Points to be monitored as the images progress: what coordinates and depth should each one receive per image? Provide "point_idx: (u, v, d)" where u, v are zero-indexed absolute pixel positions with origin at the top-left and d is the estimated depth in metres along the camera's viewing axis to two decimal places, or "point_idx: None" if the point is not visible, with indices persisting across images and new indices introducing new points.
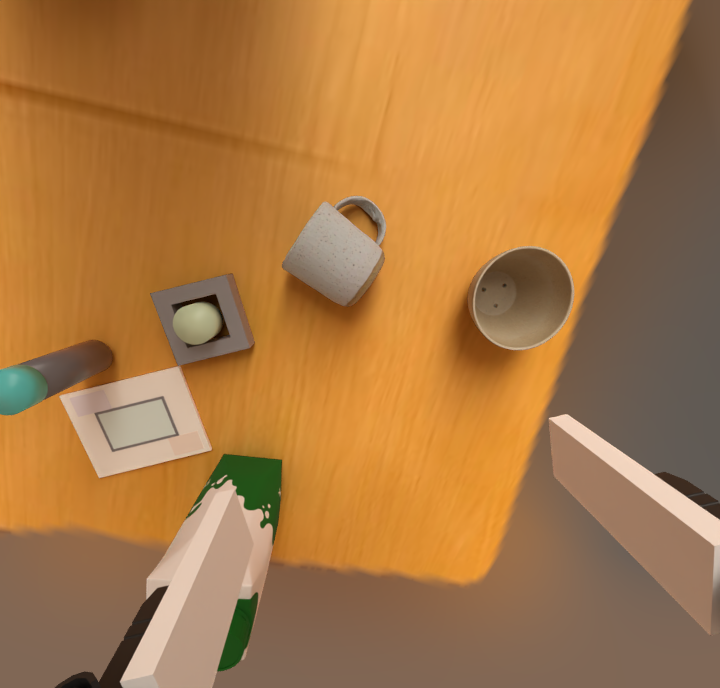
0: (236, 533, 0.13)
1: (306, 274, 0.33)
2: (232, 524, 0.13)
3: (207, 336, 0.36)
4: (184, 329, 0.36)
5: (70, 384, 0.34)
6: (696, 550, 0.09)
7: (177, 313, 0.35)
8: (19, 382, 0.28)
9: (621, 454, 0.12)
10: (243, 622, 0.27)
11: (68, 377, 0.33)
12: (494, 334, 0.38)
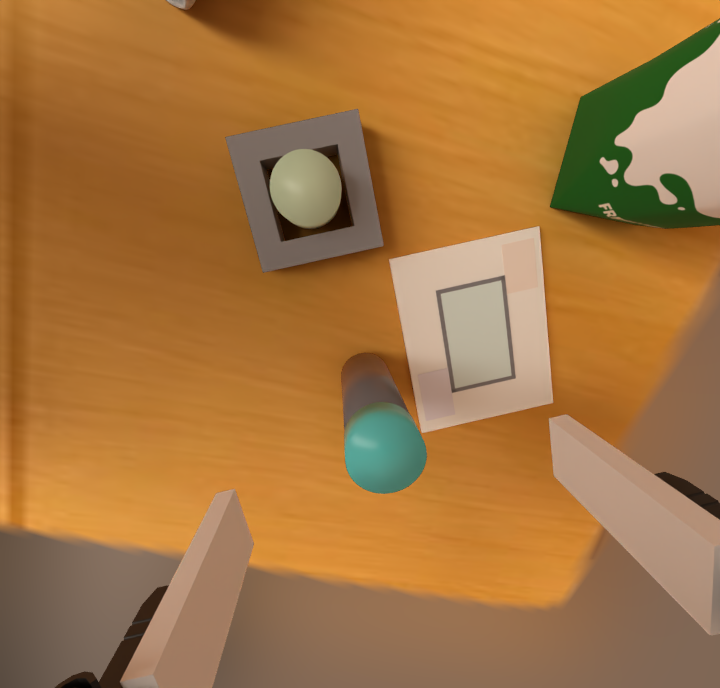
0: (236, 533, 0.14)
1: None
2: (232, 524, 0.13)
3: (326, 164, 0.20)
4: (313, 205, 0.20)
5: (393, 387, 0.21)
6: (696, 550, 0.09)
7: (285, 214, 0.20)
8: (365, 428, 0.16)
9: (621, 454, 0.12)
10: None
11: (380, 384, 0.20)
12: None
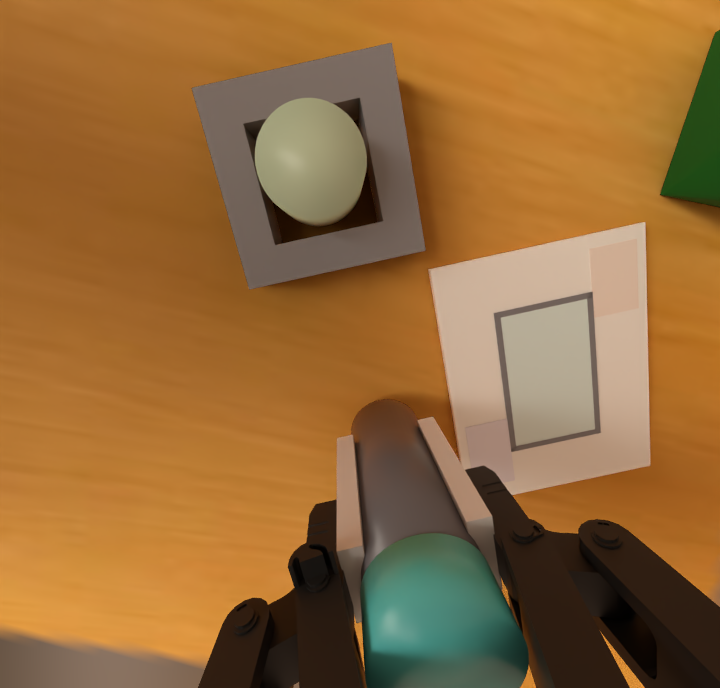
0: None
1: None
2: None
3: (343, 123, 0.13)
4: (322, 188, 0.13)
5: (440, 477, 0.13)
6: None
7: (278, 201, 0.13)
8: (408, 620, 0.08)
9: (452, 450, 0.14)
10: None
11: (418, 476, 0.12)
12: None
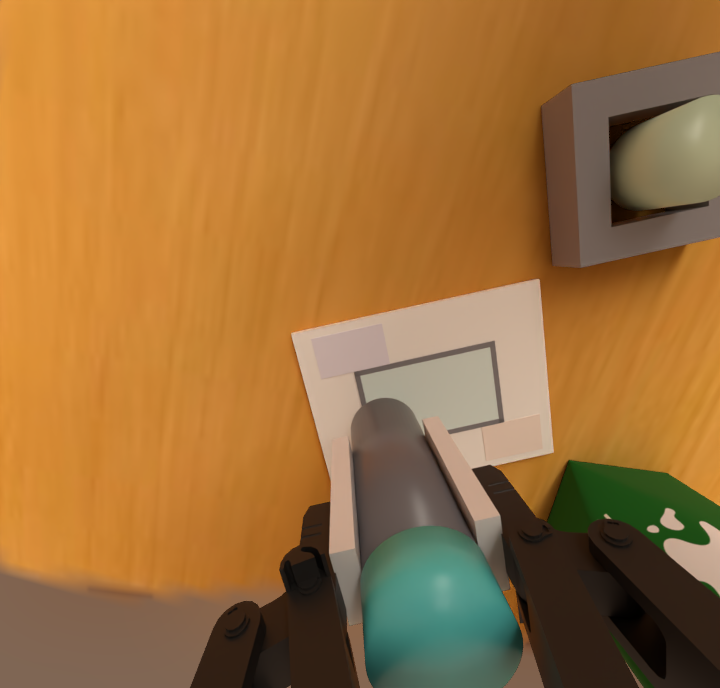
0: None
1: None
2: (352, 463, 0.16)
3: None
4: (681, 161, 0.15)
5: (437, 473, 0.13)
6: (471, 526, 0.11)
7: (680, 115, 0.14)
8: (407, 608, 0.08)
9: (458, 450, 0.14)
10: None
11: (417, 472, 0.12)
12: None
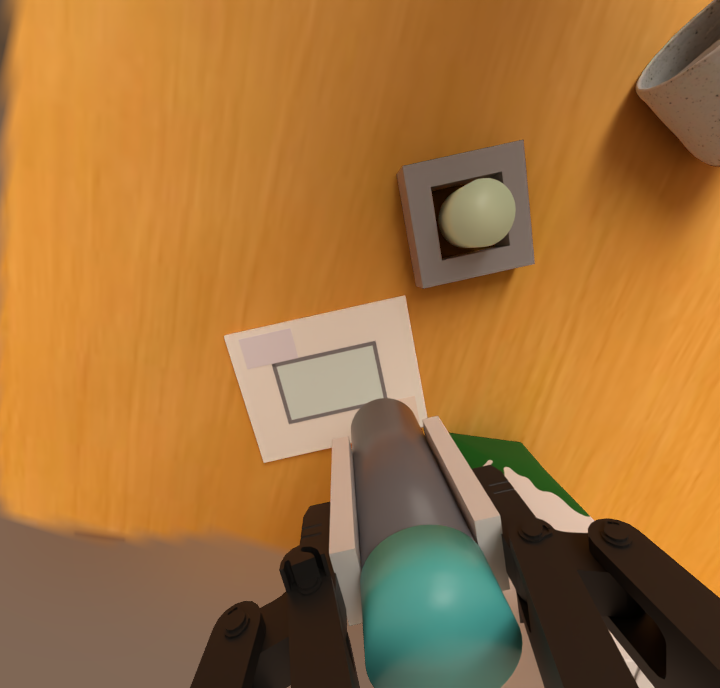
0: None
1: None
2: (352, 463, 0.16)
3: (501, 233, 0.22)
4: (468, 220, 0.22)
5: (436, 471, 0.13)
6: (471, 525, 0.11)
7: (463, 191, 0.22)
8: (404, 607, 0.08)
9: (458, 450, 0.14)
10: None
11: (415, 471, 0.12)
12: None
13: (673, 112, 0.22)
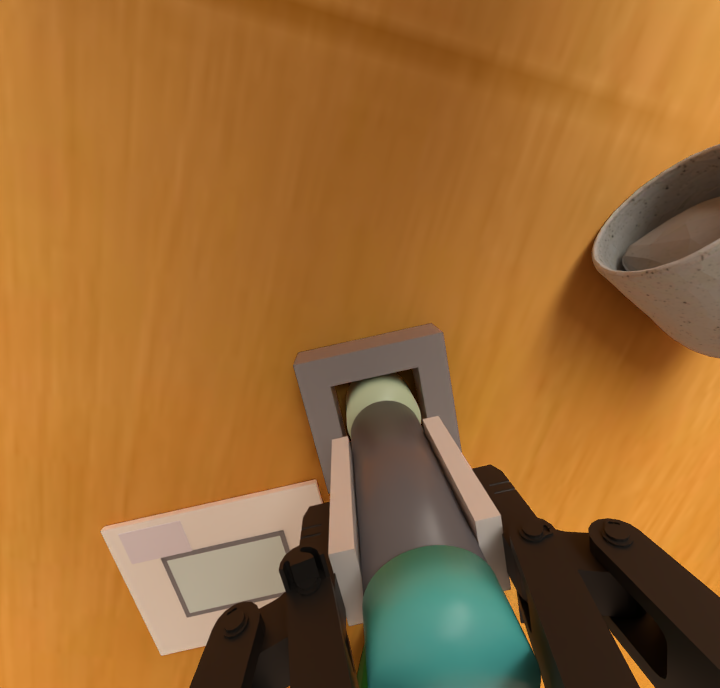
0: None
1: (715, 296, 0.15)
2: (352, 463, 0.16)
3: None
4: None
5: (442, 482, 0.12)
6: (472, 525, 0.11)
7: (358, 401, 0.19)
8: (413, 644, 0.07)
9: (458, 449, 0.14)
10: None
11: (420, 483, 0.12)
12: None
13: (634, 298, 0.18)
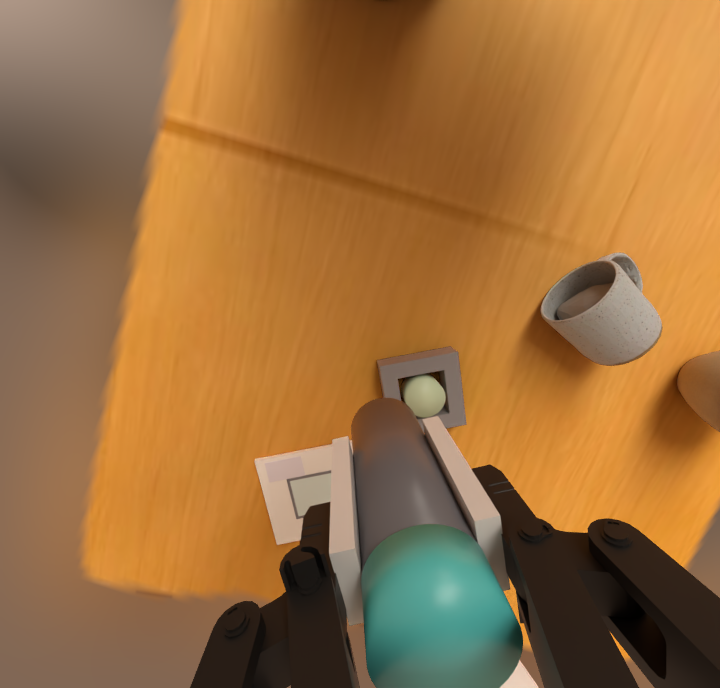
0: None
1: (591, 334, 0.32)
2: (352, 463, 0.16)
3: (436, 409, 0.36)
4: (416, 402, 0.36)
5: (436, 471, 0.13)
6: (471, 525, 0.11)
7: (413, 387, 0.35)
8: (405, 606, 0.08)
9: (458, 449, 0.14)
10: None
11: (416, 471, 0.12)
12: None
13: (559, 333, 0.35)
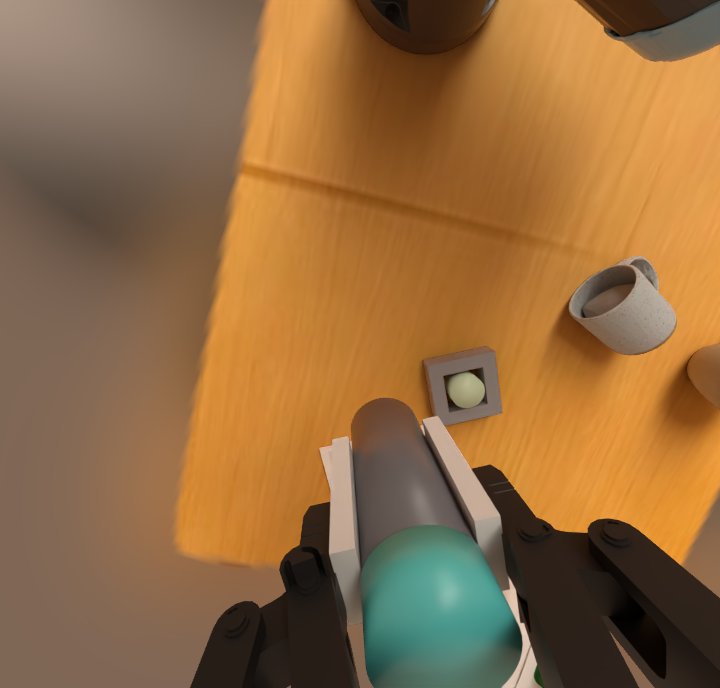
0: None
1: (615, 329, 0.38)
2: (352, 463, 0.16)
3: (477, 401, 0.42)
4: (459, 395, 0.42)
5: (436, 471, 0.13)
6: (471, 526, 0.11)
7: (457, 382, 0.41)
8: (404, 608, 0.08)
9: (458, 450, 0.14)
10: None
11: (415, 471, 0.12)
12: None
13: (586, 328, 0.40)
